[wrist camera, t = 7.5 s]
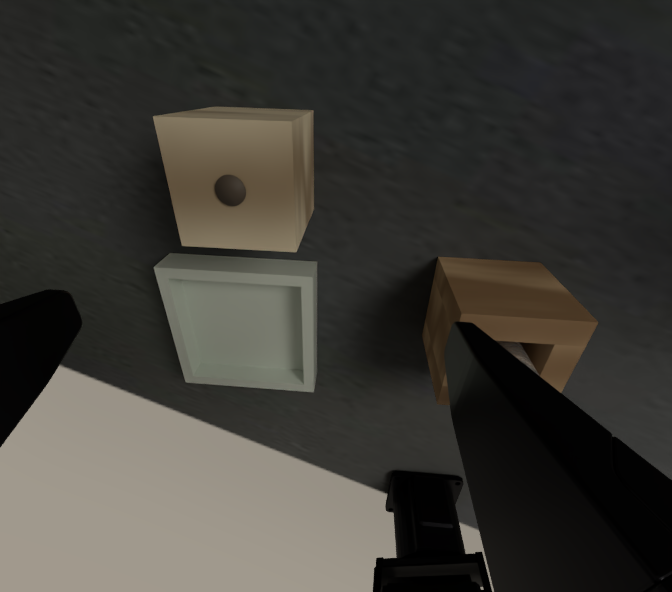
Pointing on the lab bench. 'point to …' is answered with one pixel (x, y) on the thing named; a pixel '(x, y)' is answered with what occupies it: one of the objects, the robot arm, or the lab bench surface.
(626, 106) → the lab bench surface
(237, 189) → the maple block
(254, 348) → the tray
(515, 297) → the bored oak block
